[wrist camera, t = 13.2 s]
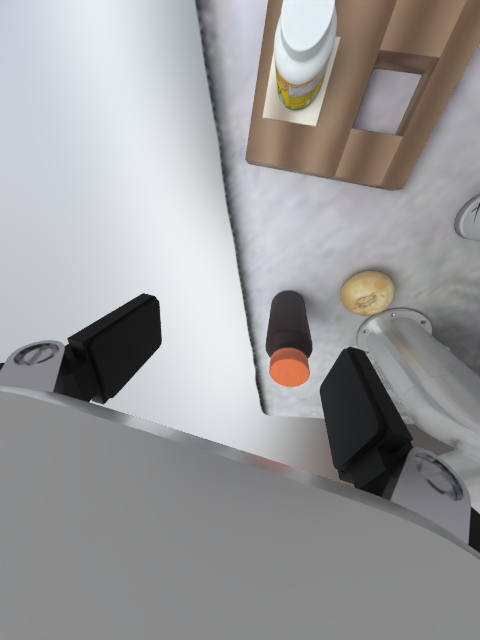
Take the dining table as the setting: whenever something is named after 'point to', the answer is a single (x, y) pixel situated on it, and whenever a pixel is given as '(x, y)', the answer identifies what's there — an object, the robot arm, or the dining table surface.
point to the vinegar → (288, 340)
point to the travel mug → (469, 220)
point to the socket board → (350, 84)
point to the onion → (368, 293)
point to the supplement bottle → (303, 50)
